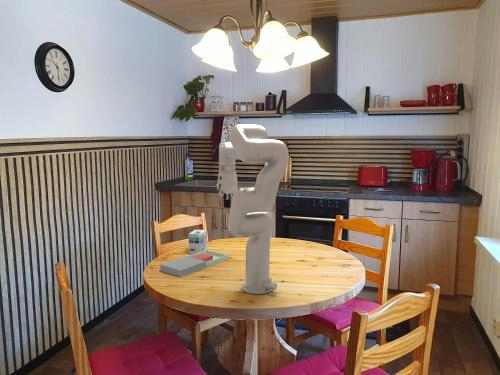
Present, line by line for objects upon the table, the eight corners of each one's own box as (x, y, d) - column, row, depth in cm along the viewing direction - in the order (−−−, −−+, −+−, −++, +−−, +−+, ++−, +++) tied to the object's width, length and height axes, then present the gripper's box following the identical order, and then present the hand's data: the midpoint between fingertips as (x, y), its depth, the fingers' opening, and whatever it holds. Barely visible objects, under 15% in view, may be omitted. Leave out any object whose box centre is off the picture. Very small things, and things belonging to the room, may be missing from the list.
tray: (228, 258, 193) (228, 254, 193) (206, 267, 180) (206, 262, 180) (206, 253, 202) (206, 249, 201) (184, 261, 189) (184, 257, 188)
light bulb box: (200, 254, 200) (200, 234, 199) (188, 254, 201) (188, 233, 200) (207, 249, 210) (207, 229, 209) (195, 248, 212) (195, 229, 211)
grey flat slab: (205, 267, 180) (205, 261, 180) (180, 277, 167) (180, 270, 167) (185, 262, 188) (185, 256, 187) (160, 271, 175) (160, 264, 174)
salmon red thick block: (212, 260, 190) (212, 255, 189) (200, 264, 182) (200, 259, 182) (203, 258, 193) (203, 253, 193) (191, 262, 186) (190, 257, 186)
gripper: (223, 170, 173) (223, 210, 175) (243, 168, 185) (243, 206, 187) (210, 169, 177) (210, 209, 179) (230, 167, 189) (230, 204, 192)
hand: (227, 207), depth 183 cm, fingers closed
